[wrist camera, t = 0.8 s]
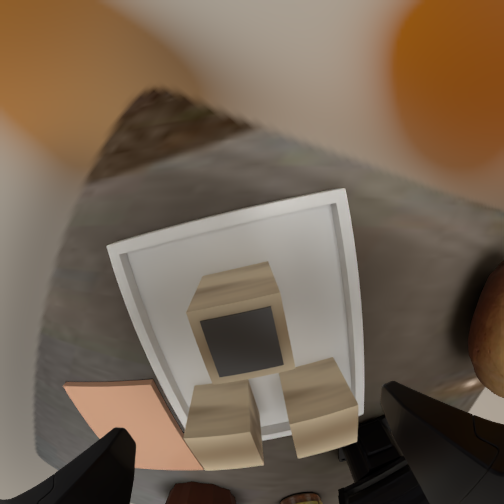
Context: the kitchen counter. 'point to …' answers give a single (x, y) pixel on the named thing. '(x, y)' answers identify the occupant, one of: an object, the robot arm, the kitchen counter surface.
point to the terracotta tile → (135, 420)
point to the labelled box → (240, 324)
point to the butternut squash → (489, 334)
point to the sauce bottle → (302, 499)
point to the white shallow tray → (240, 255)
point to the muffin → (199, 494)
